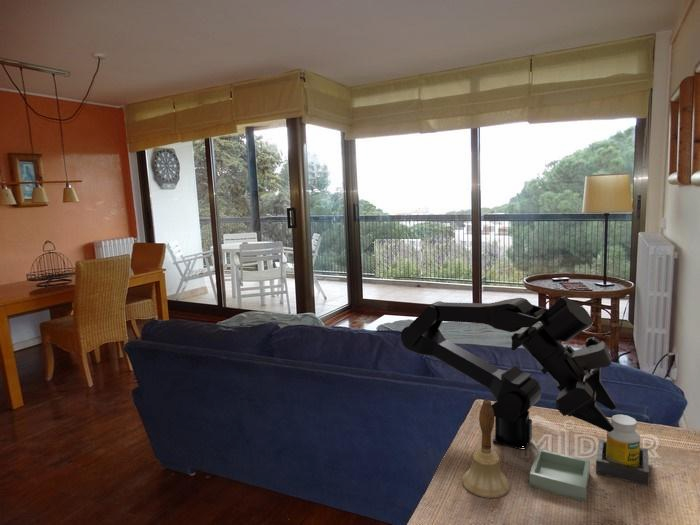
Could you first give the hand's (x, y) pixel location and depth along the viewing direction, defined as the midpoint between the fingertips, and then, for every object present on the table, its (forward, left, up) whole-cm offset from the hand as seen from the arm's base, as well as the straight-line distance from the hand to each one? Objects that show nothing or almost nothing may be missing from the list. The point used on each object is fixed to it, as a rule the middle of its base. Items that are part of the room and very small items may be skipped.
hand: (613, 419), depth 86 cm
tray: (-8, -9, -9) cm, 15 cm away
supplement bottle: (+2, 0, -10) cm, 10 cm away
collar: (+2, 0, -9) cm, 9 cm away
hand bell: (-19, -16, -10) cm, 27 cm away
